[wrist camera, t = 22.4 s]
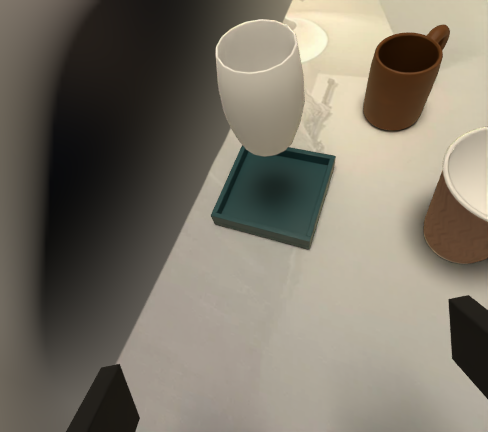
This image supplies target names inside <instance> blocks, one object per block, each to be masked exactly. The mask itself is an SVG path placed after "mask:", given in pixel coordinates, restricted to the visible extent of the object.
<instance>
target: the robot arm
mask: <svg viewBox="0 0 488 432" xmlns="http://www.w3.org/2000/svg"><path fill="white" fill-rule="evenodd" d="M449 314H450V330H451V346H452V359H453V360H454V361H455V363H456V364H457V365H458V366H459V367H460V368H461V369H462V370H463V372H464V373H465V374H466V375H467V376H468V377H469V378H470V380H471V381H472V382H473V383H474V384H475V385H476V386H477V387H478V389H479V390H480V391H481V392H482V393H483V394H484V395H485V397H486V398H487V399H488V310H487V309H486V308H484V307H483V306H482V305H480V304H479V303H478V302H477V301H475V300H474V299H473V298H471V297H470V296H469V295H468V296H463V297H457V298H452V299H449ZM139 419H140V417H139V414H138V412H137V409H136V406H135V404H134V401H133V398H132V396H131V393H130V390H129V388H128V385H127V382H126V380H125V377H124V374H123V372H122V369H121V366H120V364H117V365H112V366H107V367H102V368H101V369H100V371H99V373H98V375H97V376H96V378H95V380H94V382H93V384H92V386H91V387H90V389H89V391H88V393H87V395H86V396H85V398H84V400H83V402H82V404H81V406H80V407H79V409H78V411H77V413H76V415H75V416H74V418H73V420H72V422H71V424H70V426H69V427H68V429H67V431H66V432H135V431H136V428H137V425H138V422H139Z"/></svg>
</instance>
